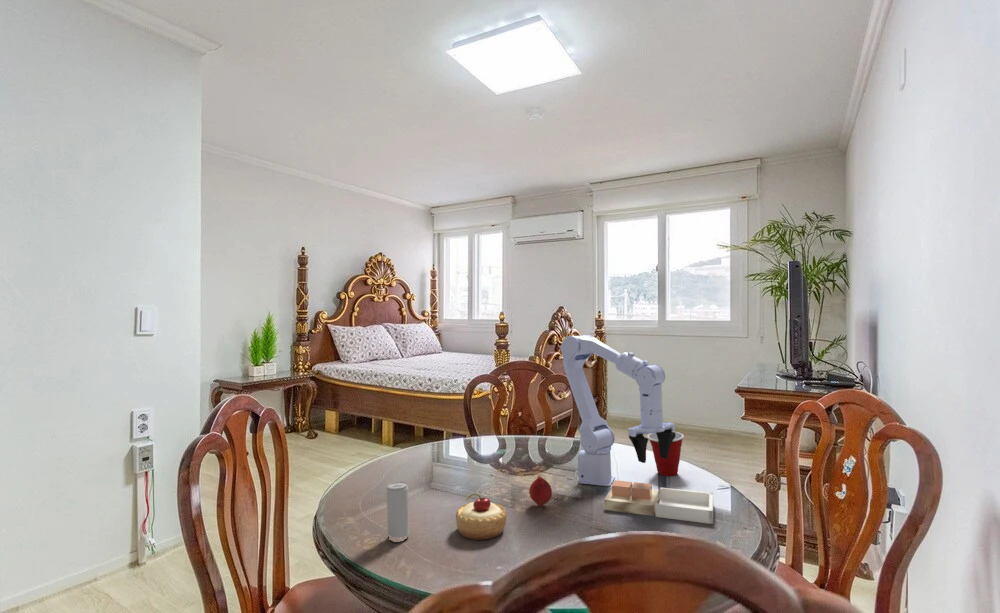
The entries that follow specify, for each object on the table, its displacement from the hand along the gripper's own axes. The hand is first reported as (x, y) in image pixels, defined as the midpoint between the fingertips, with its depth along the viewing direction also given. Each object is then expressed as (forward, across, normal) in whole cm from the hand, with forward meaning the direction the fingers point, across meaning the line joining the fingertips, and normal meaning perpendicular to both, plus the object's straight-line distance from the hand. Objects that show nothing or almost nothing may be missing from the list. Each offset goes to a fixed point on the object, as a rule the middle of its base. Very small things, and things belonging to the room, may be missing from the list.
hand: (653, 459), depth 132 cm
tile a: (+7, -11, 0) cm, 13 cm away
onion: (+10, -30, +8) cm, 33 cm away
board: (+10, -9, -2) cm, 13 cm away
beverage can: (+10, -68, +7) cm, 69 cm away
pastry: (+10, -50, +2) cm, 51 cm away
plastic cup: (+10, +17, +13) cm, 23 cm away
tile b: (+7, -7, -4) cm, 11 cm away
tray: (+10, -1, -11) cm, 15 cm away
